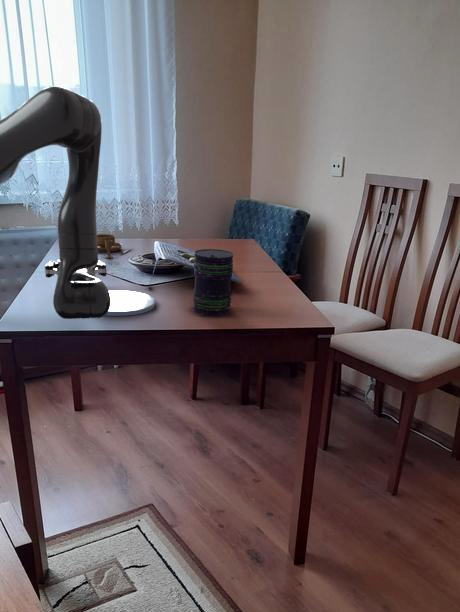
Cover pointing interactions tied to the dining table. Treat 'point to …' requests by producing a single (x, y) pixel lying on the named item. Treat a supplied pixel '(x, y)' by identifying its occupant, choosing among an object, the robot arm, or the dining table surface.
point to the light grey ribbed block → (178, 256)
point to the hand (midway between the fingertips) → (74, 261)
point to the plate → (129, 303)
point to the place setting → (108, 244)
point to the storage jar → (212, 282)
